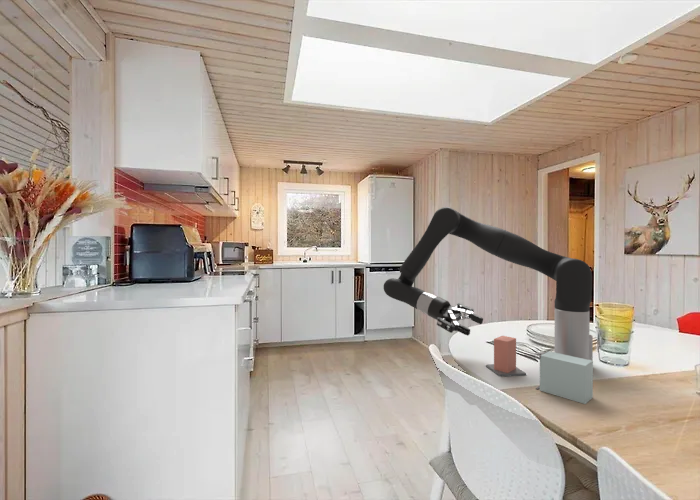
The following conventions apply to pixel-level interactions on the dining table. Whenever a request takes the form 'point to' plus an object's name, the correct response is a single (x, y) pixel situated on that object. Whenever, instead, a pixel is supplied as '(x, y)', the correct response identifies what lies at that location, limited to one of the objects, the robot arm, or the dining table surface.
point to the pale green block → (566, 376)
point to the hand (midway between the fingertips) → (476, 327)
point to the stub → (505, 354)
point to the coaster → (512, 373)
